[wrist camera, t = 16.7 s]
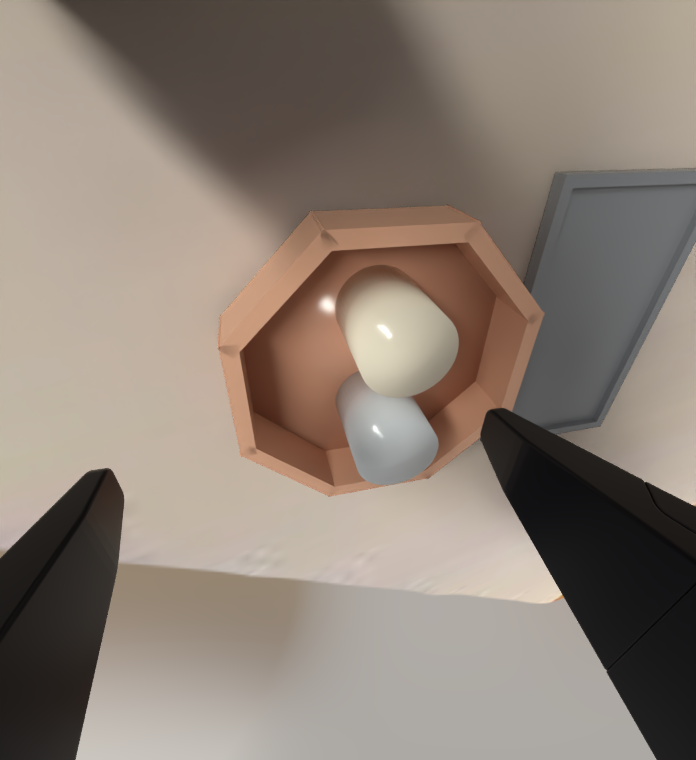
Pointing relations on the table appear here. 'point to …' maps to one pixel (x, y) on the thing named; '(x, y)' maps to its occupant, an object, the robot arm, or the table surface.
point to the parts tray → (601, 286)
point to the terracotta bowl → (332, 355)
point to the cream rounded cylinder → (395, 332)
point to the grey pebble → (384, 433)
